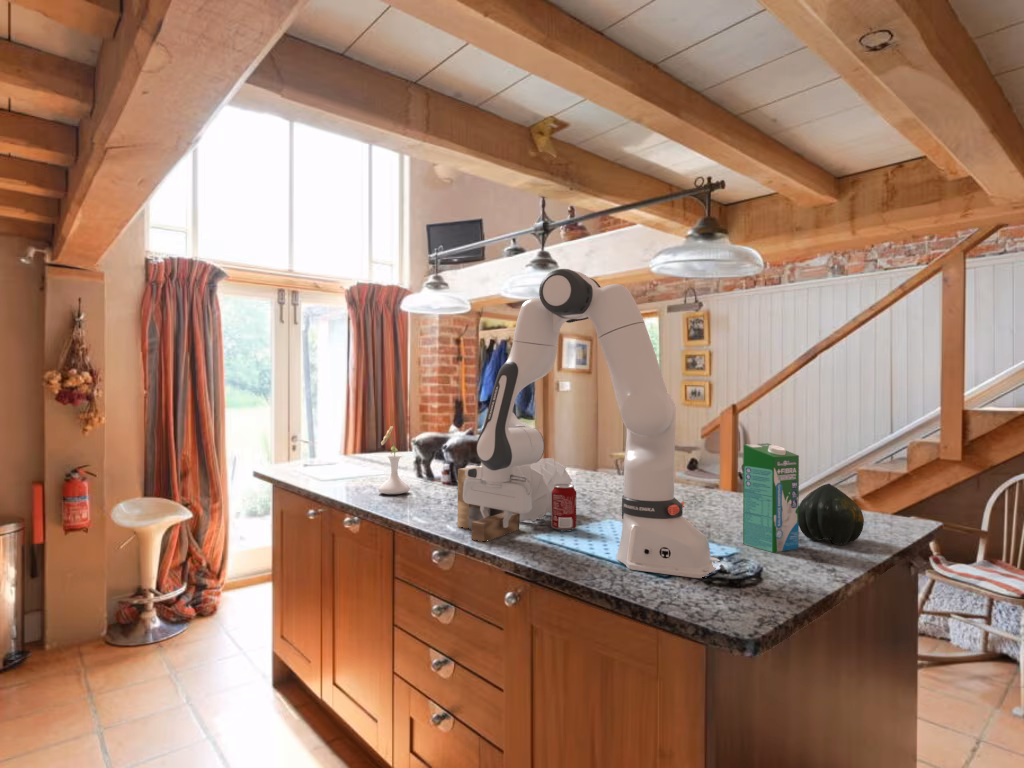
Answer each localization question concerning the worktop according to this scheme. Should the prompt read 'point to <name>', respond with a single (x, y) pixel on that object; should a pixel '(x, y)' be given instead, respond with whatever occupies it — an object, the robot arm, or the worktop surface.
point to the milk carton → (770, 497)
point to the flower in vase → (393, 473)
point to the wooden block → (493, 527)
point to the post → (469, 505)
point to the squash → (830, 516)
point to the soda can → (563, 507)
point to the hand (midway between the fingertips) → (495, 525)
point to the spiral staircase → (542, 485)
